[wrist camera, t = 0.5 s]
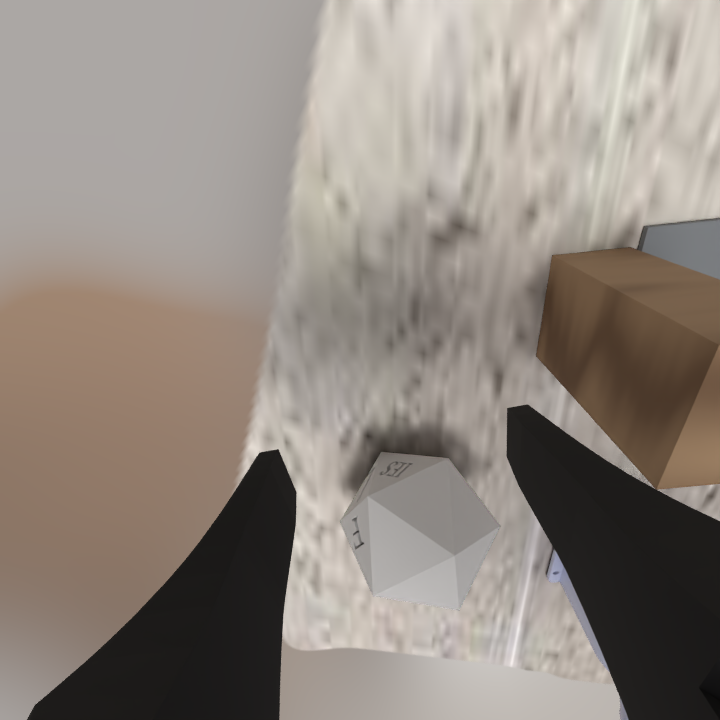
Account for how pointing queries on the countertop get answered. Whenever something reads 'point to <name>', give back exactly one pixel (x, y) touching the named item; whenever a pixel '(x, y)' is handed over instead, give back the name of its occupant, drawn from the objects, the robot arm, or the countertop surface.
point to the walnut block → (640, 357)
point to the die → (418, 530)
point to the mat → (686, 244)
